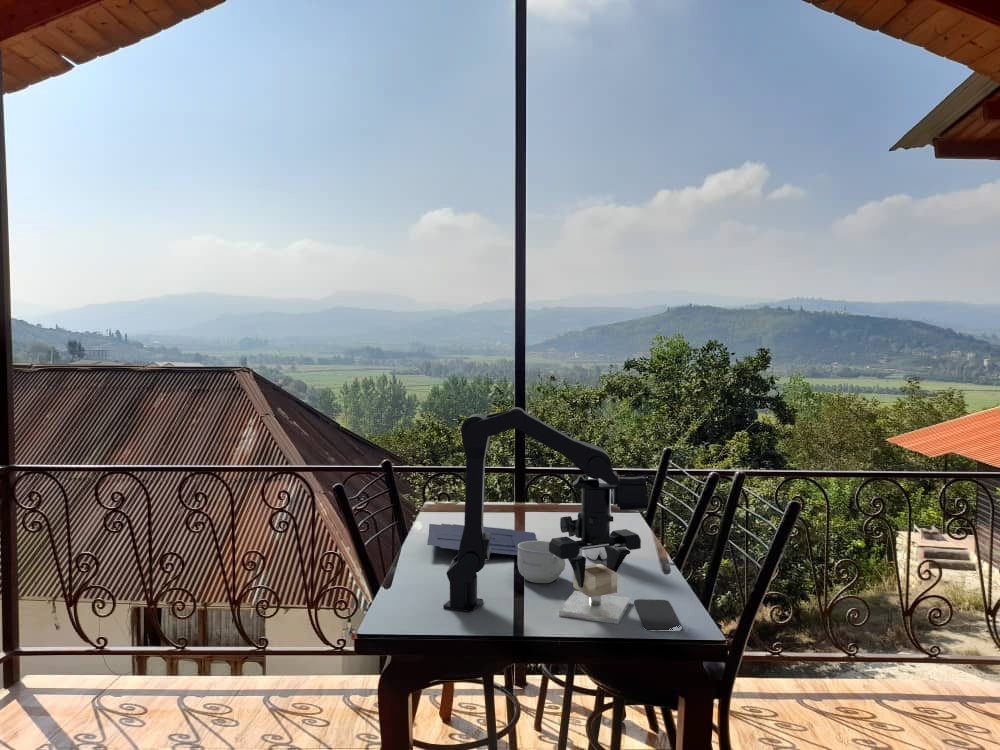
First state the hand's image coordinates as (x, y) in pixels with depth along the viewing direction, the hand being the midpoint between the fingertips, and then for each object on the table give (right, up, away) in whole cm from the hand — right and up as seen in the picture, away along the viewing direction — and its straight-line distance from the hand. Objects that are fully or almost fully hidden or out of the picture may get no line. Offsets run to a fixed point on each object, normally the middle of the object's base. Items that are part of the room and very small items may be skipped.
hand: (595, 584), depth 144 cm
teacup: (-9, -4, +17) cm, 20 cm away
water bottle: (+5, -4, +35) cm, 35 cm away
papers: (-24, -3, +44) cm, 50 cm away
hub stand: (0, -5, 0) cm, 5 cm away
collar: (0, -1, 0) cm, 1 cm away
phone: (+12, -6, -3) cm, 14 cm away
